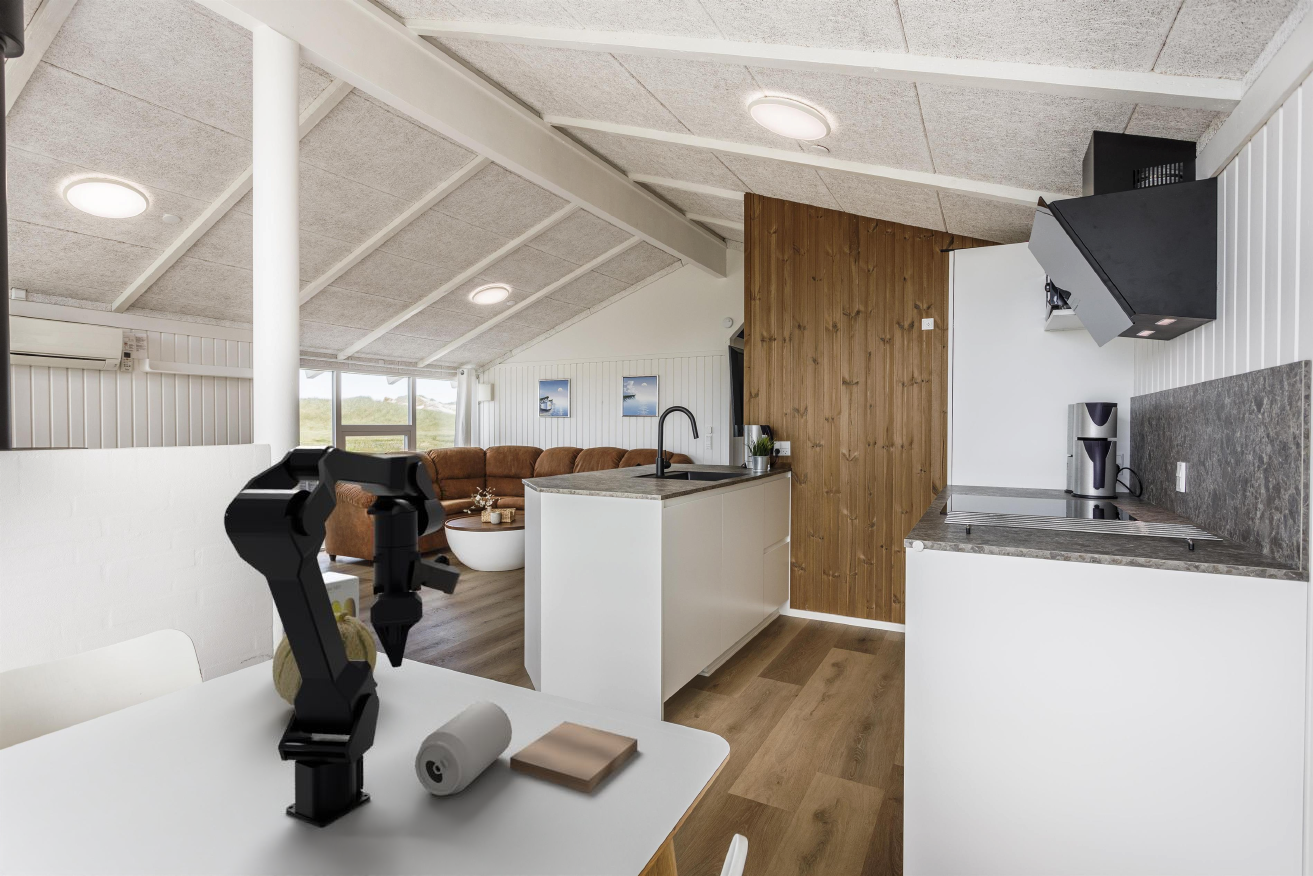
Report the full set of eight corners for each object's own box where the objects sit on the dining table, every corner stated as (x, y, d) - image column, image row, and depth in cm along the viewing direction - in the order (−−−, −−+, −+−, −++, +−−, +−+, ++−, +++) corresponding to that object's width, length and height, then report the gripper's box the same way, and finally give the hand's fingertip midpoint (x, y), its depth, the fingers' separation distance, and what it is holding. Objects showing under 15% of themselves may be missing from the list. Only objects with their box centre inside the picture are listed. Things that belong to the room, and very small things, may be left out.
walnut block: (588, 797, 79) (588, 780, 79) (510, 773, 85) (510, 757, 85) (637, 754, 90) (637, 739, 90) (565, 735, 95) (565, 721, 95)
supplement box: (310, 684, 113) (309, 586, 112) (280, 674, 117) (279, 579, 117) (361, 667, 121) (360, 575, 121) (330, 658, 126) (330, 570, 125)
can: (456, 717, 90) (398, 759, 78) (493, 687, 88) (439, 725, 77) (487, 764, 89) (432, 814, 77) (525, 735, 87) (475, 781, 75)
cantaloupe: (277, 697, 107) (276, 605, 107) (375, 683, 113) (375, 596, 113) (266, 736, 94) (266, 631, 93) (378, 717, 100) (378, 618, 100)
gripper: (462, 551, 86) (463, 670, 86) (450, 531, 103) (451, 630, 103) (369, 557, 82) (370, 682, 82) (373, 535, 99) (374, 638, 99)
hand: (396, 655), depth 92 cm, fingers open, 9 cm apart
